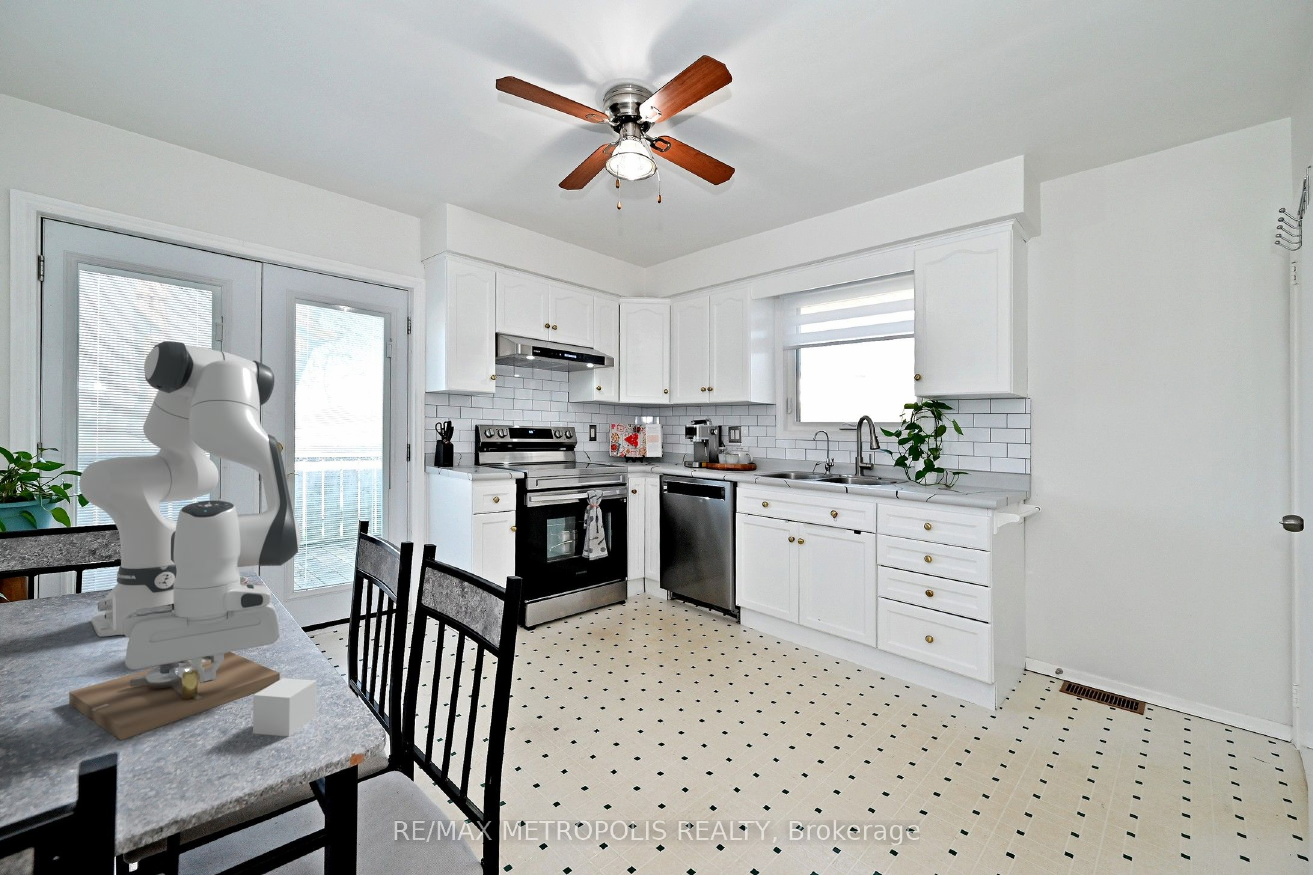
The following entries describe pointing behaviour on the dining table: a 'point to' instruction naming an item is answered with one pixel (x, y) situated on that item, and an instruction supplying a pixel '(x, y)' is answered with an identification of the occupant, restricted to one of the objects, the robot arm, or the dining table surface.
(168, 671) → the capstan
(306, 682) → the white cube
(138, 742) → the dining table surface
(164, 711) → the stand
